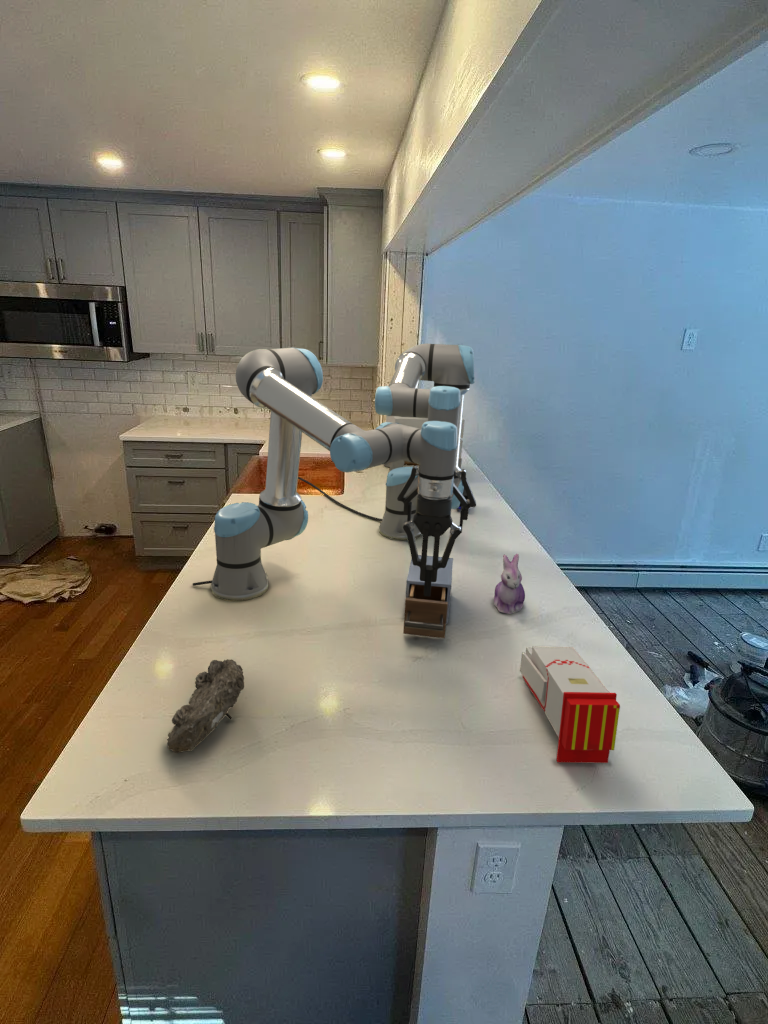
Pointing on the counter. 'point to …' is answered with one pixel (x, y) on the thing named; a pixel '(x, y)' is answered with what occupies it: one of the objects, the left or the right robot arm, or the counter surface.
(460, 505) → the figurine character
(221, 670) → the fossil
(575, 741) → the toy
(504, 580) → the figurine
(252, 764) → the counter surface
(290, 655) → the counter surface
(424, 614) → the drawer
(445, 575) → the cabinet
